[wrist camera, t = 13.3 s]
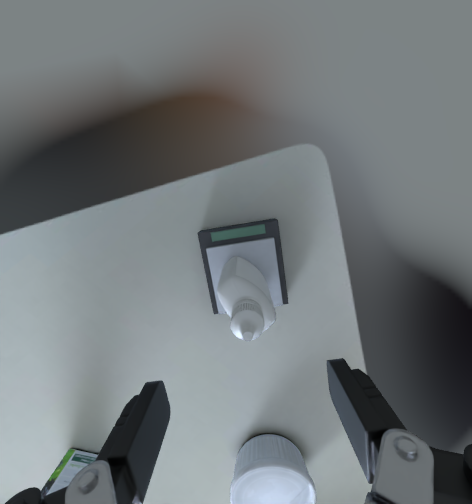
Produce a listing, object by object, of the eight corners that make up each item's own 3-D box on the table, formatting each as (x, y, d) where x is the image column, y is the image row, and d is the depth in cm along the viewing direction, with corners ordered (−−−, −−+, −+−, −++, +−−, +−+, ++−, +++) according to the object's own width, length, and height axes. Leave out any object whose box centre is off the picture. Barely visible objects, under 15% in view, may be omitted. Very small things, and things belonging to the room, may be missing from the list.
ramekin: (302, 488, 37) (311, 534, 32) (229, 483, 37) (227, 528, 32) (310, 429, 35) (322, 469, 30) (233, 424, 35) (231, 463, 30)
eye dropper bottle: (258, 249, 27) (270, 288, 15) (270, 295, 28) (290, 365, 16) (220, 258, 27) (202, 305, 15) (233, 304, 28) (227, 379, 16)
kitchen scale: (200, 230, 29) (196, 233, 27) (275, 218, 28) (278, 220, 26) (215, 307, 31) (213, 316, 29) (285, 297, 31) (289, 306, 28)
